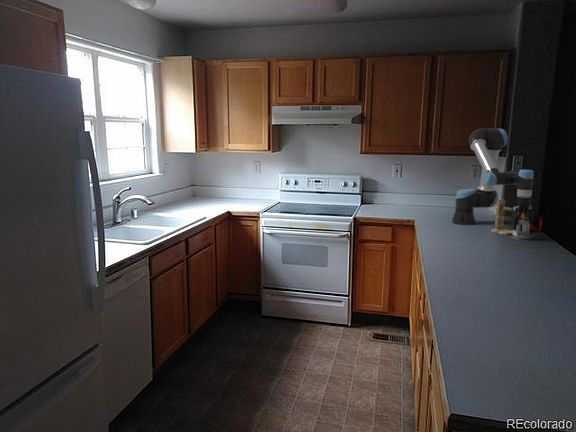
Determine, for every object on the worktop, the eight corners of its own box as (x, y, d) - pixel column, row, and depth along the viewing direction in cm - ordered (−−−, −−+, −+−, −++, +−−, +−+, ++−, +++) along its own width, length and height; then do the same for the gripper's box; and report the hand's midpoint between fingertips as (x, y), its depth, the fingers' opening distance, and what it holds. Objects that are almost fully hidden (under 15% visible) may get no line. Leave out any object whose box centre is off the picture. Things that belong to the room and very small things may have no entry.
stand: (490, 231, 273) (493, 200, 270) (502, 229, 277) (505, 199, 273) (507, 235, 262) (510, 202, 258) (520, 234, 265) (522, 201, 261)
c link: (517, 235, 251) (519, 222, 250) (513, 234, 254) (514, 221, 253) (527, 234, 254) (529, 221, 253) (523, 233, 257) (524, 220, 255)
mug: (541, 232, 269) (543, 213, 267) (516, 231, 273) (518, 212, 270) (536, 229, 278) (538, 210, 276) (513, 228, 282) (514, 210, 280)
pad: (510, 237, 256) (510, 236, 256) (521, 236, 259) (521, 235, 259) (518, 239, 250) (519, 238, 250) (530, 238, 253) (530, 237, 253)
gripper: (516, 198, 243) (512, 237, 247) (542, 196, 250) (539, 234, 254) (505, 196, 250) (502, 235, 254) (531, 194, 257) (528, 232, 261)
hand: (520, 234), depth 254 cm, fingers closed on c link, 8 cm apart
